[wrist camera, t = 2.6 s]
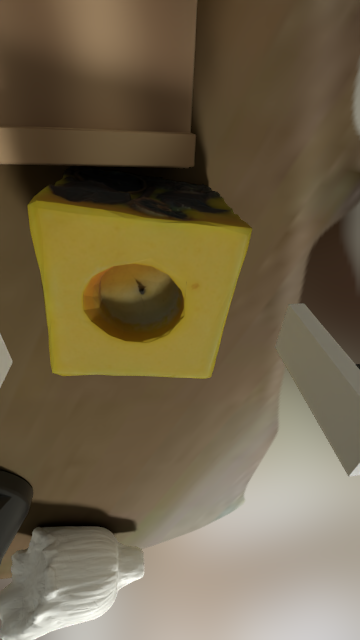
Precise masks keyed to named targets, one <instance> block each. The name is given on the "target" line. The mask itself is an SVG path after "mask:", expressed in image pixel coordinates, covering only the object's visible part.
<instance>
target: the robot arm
mask: <svg viewBox="0 0 360 640" xmlns="http://www.w3.org/2000/svg"><path fill="white" fill-rule="evenodd" d="M275 348H276V350H277V352H278V354H279V355H280V357H281V359H282V361H283V362H284V364H285V366H286V368H287V369H288V371H289V373H290V375H291V376H292V378H293V380H294V382H295V383H296V385H297V387H298V389H299V390H300V392H301V394H302V395H303V397H304V399H305V401H306V403H307V404H308V406H309V408H310V410H311V411H312V413H313V415H314V417H315V418H316V420H317V422H318V424H319V425H320V427H321V429H322V431H323V432H324V434H325V436H326V438H327V439H328V441H329V443H330V445H331V446H332V448H333V450H334V452H335V453H336V455H337V457H338V459H339V460H340V462H341V464H342V466H343V467H344V469H345V471H346V472H347V474H348V476H356V475H360V364H354V363H353V361H352V360H351V359H350V358H349V356H348V355H347V354H346V353H345V352H344V350H342V348H341V347H340V346H339V345H338V343H337V342H336V341H335V340H334V339H333V338H332V336H331V335H330V334H329V333H328V332H327V330H326V329H325V328H324V327H323V326H322V324H321V323H320V322H319V321H318V320H317V319H316V317H315V316H314V315H313V314H312V313H311V311H310V310H309V309H308V308H307V307H306V305H305V304H289V305H288V308H287V312H286V315H285V318H284V321H283V324H282V327H281V330H280V333H279V336H278V340H277V343H276V346H275ZM11 364H12V359H11V357H10V355H9V352H8V350H7V348H6V346H5V343H4V341H3V339H2V336H1V334H0V387H1V385H2V383H3V381H4V379H5V377H6V375H7V373H8V371H9V368H10V366H11ZM32 497H33V490H32V487H31V486H30V485H29V484H28V483H27V482H26V481H25V480H23V479H21V478H20V477H18V476H15V475H13V474H10V473H7V472H4V471H0V564H1V561H2V558H3V556H4V554H5V553H6V551H7V549H8V547H9V546H10V544H11V542H12V540H13V539H14V537H15V535H16V533H17V532H18V530H19V528H20V526H21V525H22V523H23V521H24V519H25V517H26V516H27V514H28V512H29V509H30V505H31V501H32Z"/></svg>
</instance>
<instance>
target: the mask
mask: <svg viewBox="0 0 360 640" xmlns="http://www.w3.org/2000/svg"><path fill="white" fill-rule="evenodd" d="M12 562H13V564H12V566H11V572H12V582H11V583H10V584H9V585H8V586H7V587H5V588H4V589H3V590H2V591H1V592H0V619H1V620H2V627H1V630H0V637H1V639H2V640H34V639H36V638H38V637H40V636H43V635H45V634H47V633H48V632H51V631H54V630H57V629H60V628H63V627H67V626H71V625H75V624H79V623H83V622H86V621H90V620H94V619H96V618H98V617H100V616H101V615H103V614H104V613H105V612H106V611H107V610H108V609H109V608H110V607H111V606H112V604H113V603H114V601H115V599H116V596H117V592H118V590H119V589H120V588H122V587H124V586H126V585H127V584H129V583H130V582H133V581H134V580H138V579H140V578H142V577H143V576H144V556H143V551H142V549H140V548H138V547H133V546H126V545H123V544H121V543H119V542H118V541H117V539H116V537H115V536H114V534H113V533H112V532H110V531H109V530H108V529H106V528H103V527H98V526H79V527H73V526H64V527H42V528H40V527H37V528H35V529H34V530H33V532H32V538H31V541H30V545H29V547H28V548H27V549H25V550H18V551H16V552H15V553H14V554H13V555H12Z"/></svg>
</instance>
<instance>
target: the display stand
mask: <svg viewBox="0 0 360 640" xmlns="http://www.w3.org/2000/svg"><path fill="white" fill-rule="evenodd" d="M196 16H197V0H0V164H23V165H69V166H115V167H162V168H189V167H194V158H195V141H196V135H195V134H193V133H191V115H192V95H193V75H194V55H195V36H196Z"/></svg>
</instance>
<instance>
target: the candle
mask: <svg viewBox="0 0 360 640" xmlns="http://www.w3.org/2000/svg"><path fill="white" fill-rule="evenodd" d="M27 206H28V215H29V224H30V232H31V236H32V240H33V245H34V249H35V254H36V258H37V261H38V265H39V268H40V272H41V283H42V288H43V294H44V303H45V311H46V319H47V325H48V332H49V351H50V362H51V368H52V373H56V374H59V375H62V376H72V375H93V374H101V375H113V376H125V375H129V376H159V377H176V378H201V379H205V378H209V377H211V375H212V372H213V369H214V365H215V360H216V356H217V353H218V349H219V345H220V342H221V337H222V333H223V329H224V325H225V322H226V318H227V314H228V311H229V307H230V304H231V300H232V297H233V294H234V290H235V287H236V283H237V280H238V277H239V273H240V270H241V267H242V264H243V261H244V258H245V255H246V252H247V249H248V245H249V241H250V236H251V232H252V228H251V227H250V226H249V225H248V224H247V223H246V222H244V221H243V220H241V219H240V217H239V216H238V215H236V214H234V213H233V210H232V209H231V208H230V207H229V206H228V205H227V204H226V203H225V202H224V199H223V198H222V197H220V194H219V193H218V192H215V191H212V190H211V188H209V187H208V186H206V185H204V184H202V185H196V184H188V183H186V182H176V181H170V180H163V179H162V178H161V177H150V176H138V175H133V174H129V173H126V172H119V171H116V170H114V171H103V170H100V169H97V168H88V167H86V166H70V168H69V169H67V170H66V171H65V172H64V174H63V178H62V179H61V180H60V181H57V182H56V183H55V186H53V185H51V184H50V185H48V186H47V187H45V188H44V189H43V190H42V191H40V192H39V193H38V194H37V195H35V196H34V197H33V199H32V200H31V201H30V203H29V204H28V205H27Z"/></svg>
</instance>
